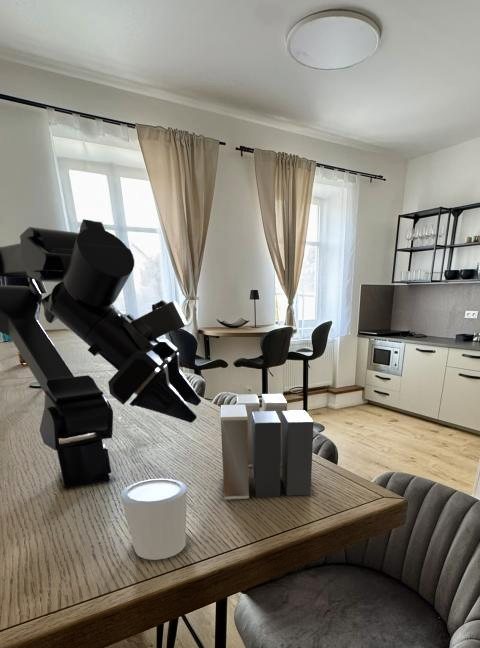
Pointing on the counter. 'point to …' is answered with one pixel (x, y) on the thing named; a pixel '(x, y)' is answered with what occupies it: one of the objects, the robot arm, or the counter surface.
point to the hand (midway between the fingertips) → (197, 411)
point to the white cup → (156, 517)
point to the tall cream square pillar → (235, 451)
